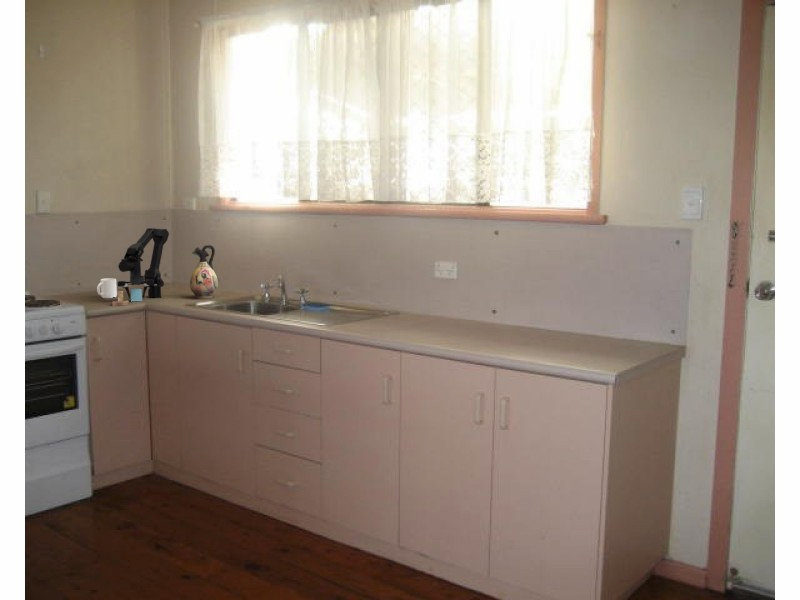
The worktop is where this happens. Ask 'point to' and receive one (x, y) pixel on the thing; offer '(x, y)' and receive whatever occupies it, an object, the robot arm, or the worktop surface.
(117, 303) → the stand
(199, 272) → the ceramic jug
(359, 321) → the worktop surface
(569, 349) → the worktop surface
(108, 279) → the mug
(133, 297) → the light blue block
